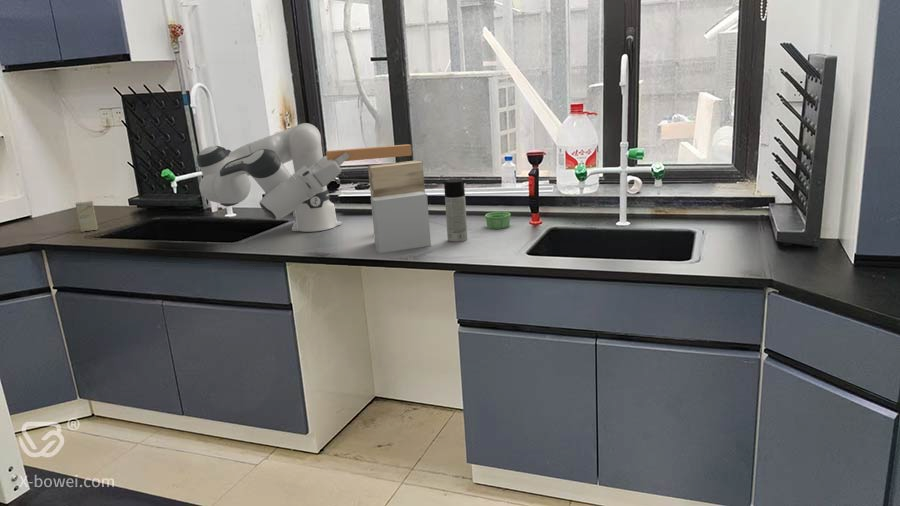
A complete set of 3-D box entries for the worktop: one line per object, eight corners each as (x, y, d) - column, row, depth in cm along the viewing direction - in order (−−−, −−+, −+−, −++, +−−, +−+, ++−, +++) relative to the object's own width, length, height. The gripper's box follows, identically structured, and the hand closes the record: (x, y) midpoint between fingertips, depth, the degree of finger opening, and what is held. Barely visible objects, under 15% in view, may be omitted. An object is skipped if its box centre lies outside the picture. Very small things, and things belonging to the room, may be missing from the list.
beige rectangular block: (375, 242, 221) (367, 165, 214) (423, 235, 226) (417, 160, 219) (379, 246, 216) (371, 167, 209) (428, 238, 221) (422, 162, 214)
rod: (327, 161, 199) (325, 151, 198) (409, 154, 207) (408, 144, 206) (328, 162, 196) (327, 152, 195) (411, 155, 204) (411, 145, 203)
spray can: (470, 237, 219) (466, 178, 213) (464, 242, 213) (460, 182, 207) (451, 237, 221) (447, 178, 216) (444, 242, 215) (440, 182, 210)
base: (375, 249, 212) (370, 197, 208) (425, 241, 218) (421, 191, 213) (380, 253, 207) (374, 200, 202) (430, 245, 212) (426, 194, 207)
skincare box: (81, 233, 269) (74, 204, 266) (82, 231, 273) (75, 202, 270) (98, 230, 272) (91, 202, 268) (98, 228, 276) (92, 200, 272)
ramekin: (497, 230, 226) (497, 218, 224) (480, 227, 233) (479, 215, 231) (516, 225, 231) (515, 213, 230) (499, 222, 238) (498, 210, 237)
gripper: (311, 184, 208) (346, 158, 210) (320, 193, 189) (358, 165, 191) (299, 168, 206) (334, 142, 207) (306, 176, 187) (345, 148, 188)
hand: (346, 153), depth 199 cm, fingers closed on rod, 3 cm apart
